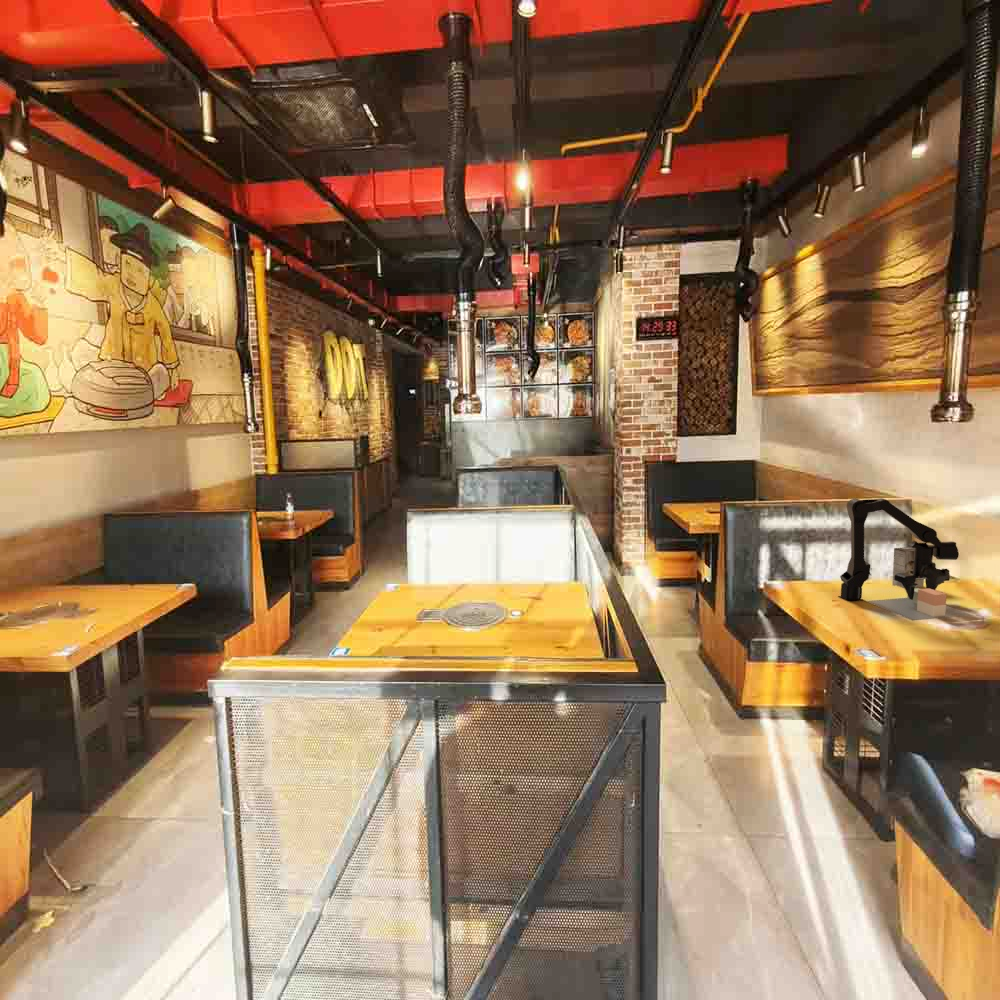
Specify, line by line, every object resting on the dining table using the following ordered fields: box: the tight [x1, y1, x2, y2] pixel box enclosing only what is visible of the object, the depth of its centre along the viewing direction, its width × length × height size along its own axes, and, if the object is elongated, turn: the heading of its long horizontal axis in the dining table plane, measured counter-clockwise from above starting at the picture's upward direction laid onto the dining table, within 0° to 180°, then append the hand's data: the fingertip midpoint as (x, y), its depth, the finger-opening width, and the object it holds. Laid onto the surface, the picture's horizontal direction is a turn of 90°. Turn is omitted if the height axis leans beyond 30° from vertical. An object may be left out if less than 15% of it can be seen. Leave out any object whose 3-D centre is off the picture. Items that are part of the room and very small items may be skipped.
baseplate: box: [865, 597, 973, 621], centre depth 216 cm, size 24×22×4 cm
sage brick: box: [906, 587, 920, 603], centre depth 222 cm, size 7×5×4 cm, turn 8°
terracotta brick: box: [918, 588, 947, 606], centre depth 209 cm, size 7×5×4 cm, turn 8°
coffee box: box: [891, 546, 925, 589], centre depth 242 cm, size 9×6×16 cm
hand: (920, 598), depth 222 cm, fingers open, 7 cm apart
